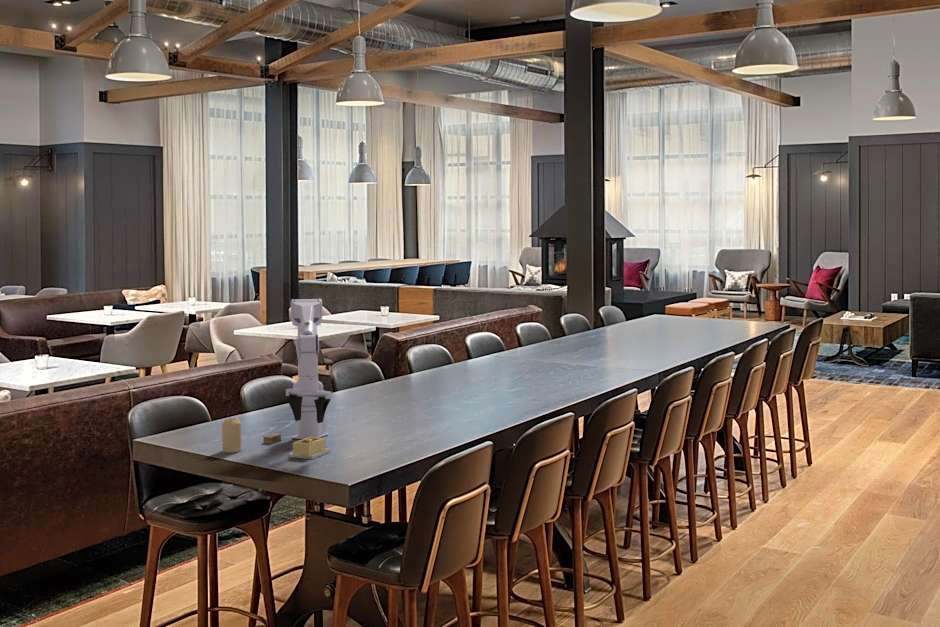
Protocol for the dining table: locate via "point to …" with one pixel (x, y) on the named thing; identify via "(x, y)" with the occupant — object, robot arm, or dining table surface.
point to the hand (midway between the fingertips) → (309, 421)
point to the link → (309, 446)
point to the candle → (231, 435)
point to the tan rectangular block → (272, 438)
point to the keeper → (311, 454)
